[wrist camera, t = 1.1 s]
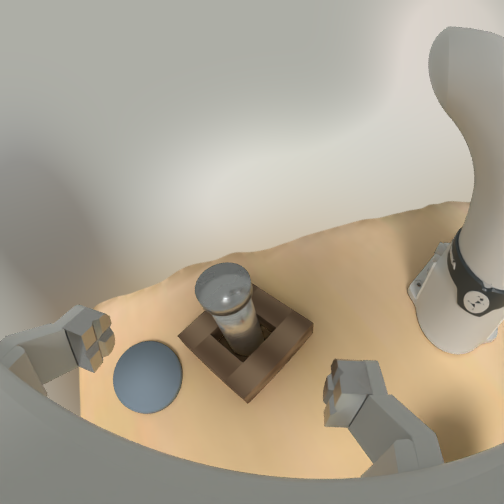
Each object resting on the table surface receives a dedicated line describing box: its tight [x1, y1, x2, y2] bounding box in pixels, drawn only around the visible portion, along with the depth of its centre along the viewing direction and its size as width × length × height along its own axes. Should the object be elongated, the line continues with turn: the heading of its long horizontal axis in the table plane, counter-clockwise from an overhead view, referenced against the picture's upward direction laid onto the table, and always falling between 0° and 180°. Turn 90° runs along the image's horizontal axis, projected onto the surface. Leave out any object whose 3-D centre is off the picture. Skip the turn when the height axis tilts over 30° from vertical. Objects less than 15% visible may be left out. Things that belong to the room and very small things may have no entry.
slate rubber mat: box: [113, 341, 182, 414], centre depth 36 cm, size 12×12×1 cm
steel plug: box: [195, 263, 264, 356], centre depth 34 cm, size 6×6×14 cm
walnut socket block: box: [178, 284, 313, 403], centre depth 37 cm, size 14×14×3 cm
